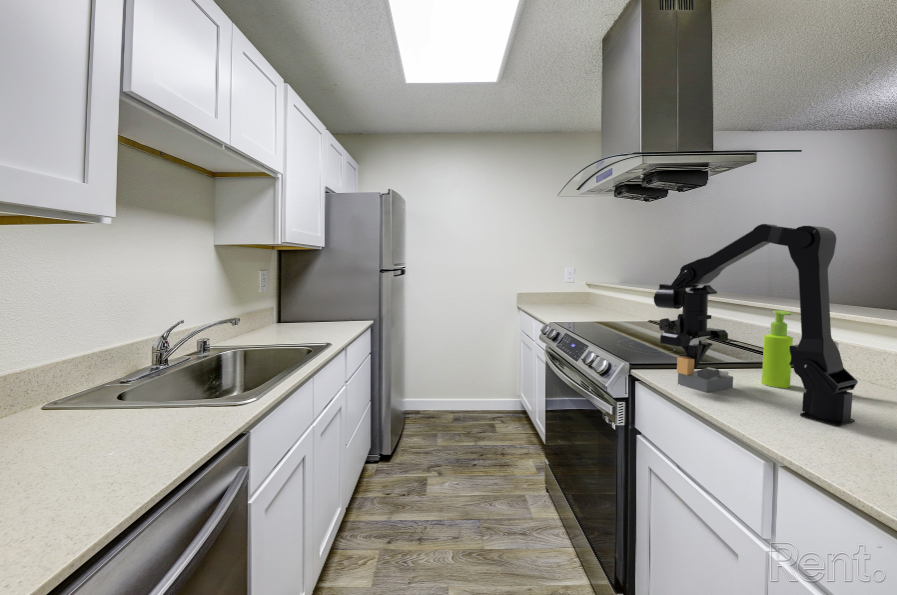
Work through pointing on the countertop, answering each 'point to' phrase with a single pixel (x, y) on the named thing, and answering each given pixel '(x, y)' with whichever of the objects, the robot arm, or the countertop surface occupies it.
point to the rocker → (708, 373)
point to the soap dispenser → (777, 353)
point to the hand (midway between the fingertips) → (693, 368)
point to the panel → (706, 381)
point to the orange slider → (685, 365)
